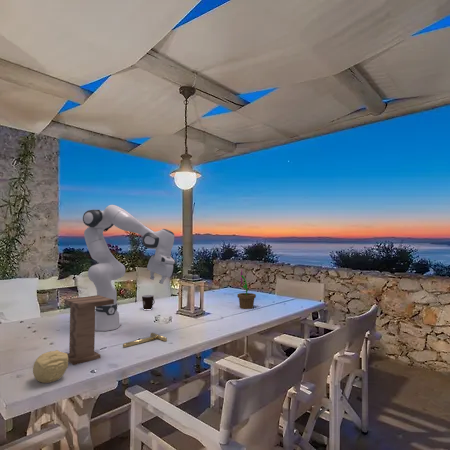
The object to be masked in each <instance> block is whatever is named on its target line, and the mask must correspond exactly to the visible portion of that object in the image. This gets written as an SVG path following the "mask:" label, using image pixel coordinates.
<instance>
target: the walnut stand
mask: <svg viewBox="0 0 450 450" xmlns="http://www.w3.org/2000/svg"><path fill="white" fill-rule="evenodd" d="M64 304H65V305H67V306H69V344H68V345H69V349H68V350H69V351H68V353H67V355H68V363H69V364H71V365H73V366H76V365H79V364H83V363H88V362H91V361H94V360H99V359H101V356H102V355H101V354H100V353H98V352H97V351H95V334H96V333H95V332H96V331H95V311H96V310H95V309H96V307H97V306H103V305H110V304H114V299H110V298H107V297H103V296H100V295H97V294H95V295H88V296H82V297H81V296H80V297H73V298H67V299H64Z"/></svg>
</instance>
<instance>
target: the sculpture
mask: <svg viewBox="0 0 450 450" xmlns="http://www.w3.org/2000/svg"><path fill="white" fill-rule="evenodd" d="M67 354H68V353H67V352H63V351H59V350H58V349H56V350H53V351H52V350H51V351H47V352H44V353H42V354H41V355H39V356H38V357H37V358H36V360H35V362H34V363H33V366H32V374H33V377H34V379H35V380H36V381H37V382H39V383H42V384H50V383H54V382H56V381H58V380H60V379H62V377H63V376H64V375H65V373H66V371H67V369H68V368H69V367H68V366H69V362H68V355H67Z"/></svg>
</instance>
